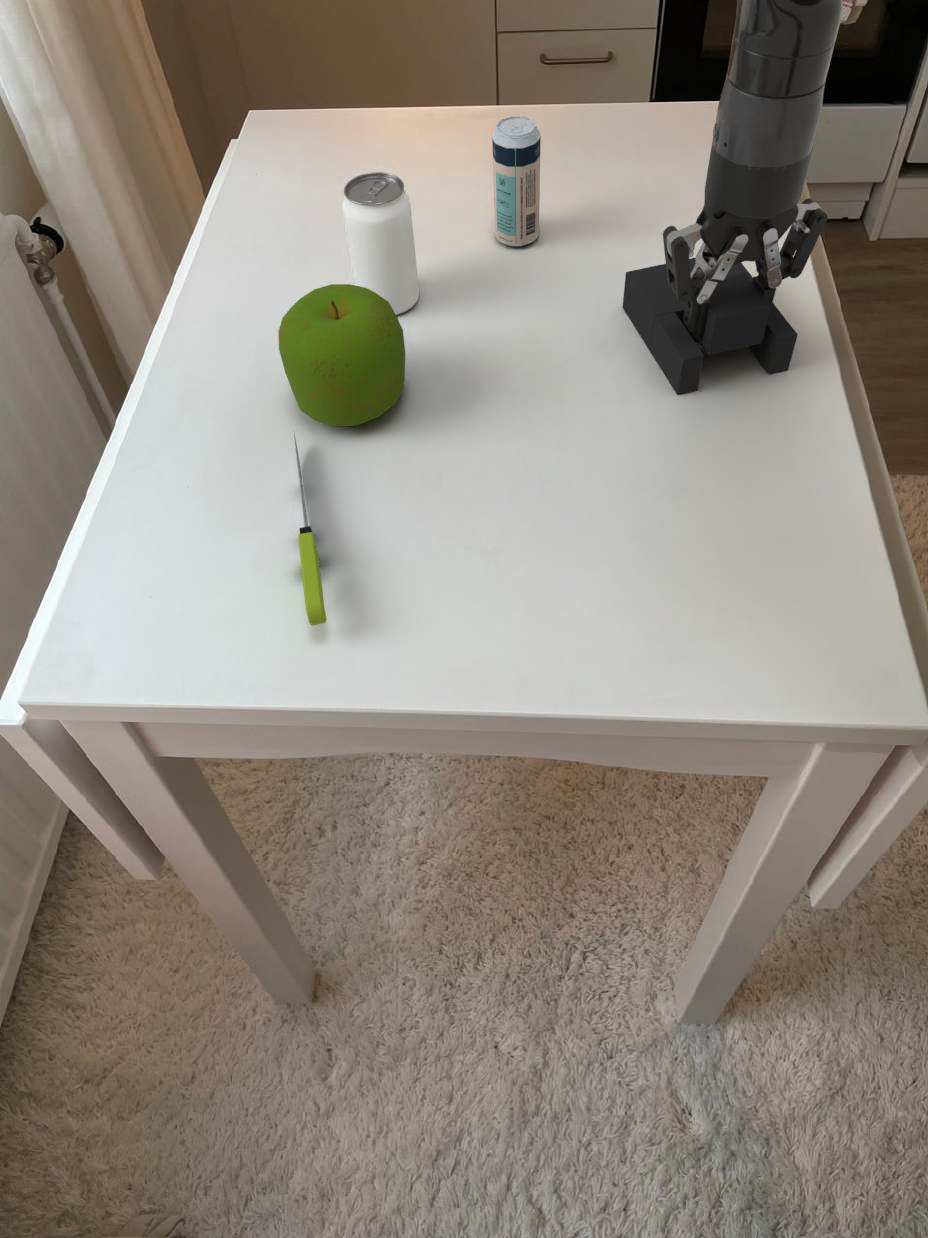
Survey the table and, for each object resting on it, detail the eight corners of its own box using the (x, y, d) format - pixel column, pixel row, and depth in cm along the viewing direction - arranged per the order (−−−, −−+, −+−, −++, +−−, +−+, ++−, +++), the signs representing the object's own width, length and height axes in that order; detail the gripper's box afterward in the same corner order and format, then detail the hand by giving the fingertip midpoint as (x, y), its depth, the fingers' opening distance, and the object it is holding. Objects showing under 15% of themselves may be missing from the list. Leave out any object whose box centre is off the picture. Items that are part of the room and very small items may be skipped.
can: (346, 311, 97) (327, 200, 87) (373, 276, 100) (357, 164, 91) (404, 324, 95) (391, 211, 86) (429, 287, 99) (419, 175, 89)
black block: (737, 310, 89) (745, 272, 86) (762, 343, 86) (771, 305, 83) (685, 321, 88) (691, 283, 85) (708, 355, 85) (715, 317, 82)
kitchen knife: (292, 456, 86) (285, 429, 84) (306, 454, 87) (300, 427, 84) (313, 639, 72) (305, 612, 70) (330, 635, 72) (323, 609, 70)
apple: (406, 439, 85) (393, 338, 77) (287, 442, 86) (261, 342, 77) (412, 360, 92) (401, 258, 83) (302, 363, 92) (279, 262, 84)
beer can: (540, 225, 105) (541, 113, 95) (537, 249, 102) (539, 137, 92) (496, 224, 105) (493, 113, 95) (493, 249, 102) (490, 137, 93)
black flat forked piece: (788, 370, 88) (798, 334, 85) (677, 395, 87) (683, 359, 84) (724, 285, 97) (731, 249, 93) (622, 306, 95) (625, 271, 92)
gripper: (695, 179, 70) (666, 366, 83) (874, 144, 71) (817, 333, 85) (656, 131, 74) (635, 316, 88) (825, 99, 76) (779, 286, 90)
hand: (725, 324), depth 86 cm, fingers closed on black block, 5 cm apart
